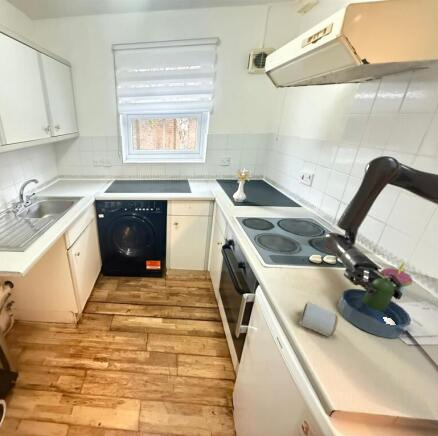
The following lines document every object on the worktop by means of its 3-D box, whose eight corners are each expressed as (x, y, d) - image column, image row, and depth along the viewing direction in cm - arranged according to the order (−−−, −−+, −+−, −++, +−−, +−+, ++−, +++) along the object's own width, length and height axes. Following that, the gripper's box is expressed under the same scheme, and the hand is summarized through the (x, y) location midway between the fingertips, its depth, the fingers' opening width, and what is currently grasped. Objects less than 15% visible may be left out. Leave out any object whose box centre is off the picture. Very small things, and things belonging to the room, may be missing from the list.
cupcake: (407, 297, 86) (422, 269, 81) (376, 286, 91) (388, 260, 86) (406, 285, 91) (419, 259, 87) (376, 276, 97) (388, 251, 92)
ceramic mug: (331, 343, 68) (339, 323, 65) (298, 329, 73) (305, 310, 70) (331, 320, 76) (338, 301, 73) (301, 309, 81) (307, 291, 78)
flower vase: (230, 204, 179) (235, 171, 169) (230, 196, 195) (235, 166, 185) (249, 205, 175) (255, 172, 165) (247, 198, 191) (252, 167, 181)
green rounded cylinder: (379, 300, 77) (392, 274, 73) (390, 312, 72) (404, 286, 68) (358, 296, 78) (370, 271, 74) (368, 309, 73) (381, 282, 69)
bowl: (383, 305, 82) (389, 293, 80) (418, 344, 68) (426, 332, 66) (329, 296, 86) (333, 285, 84) (351, 332, 72) (357, 319, 70)
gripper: (337, 251, 85) (362, 280, 71) (386, 257, 82) (422, 289, 67) (331, 269, 88) (353, 300, 74) (377, 275, 85) (411, 309, 70)
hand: (386, 294), depth 70 cm, fingers closed on green rounded cylinder, 5 cm apart
